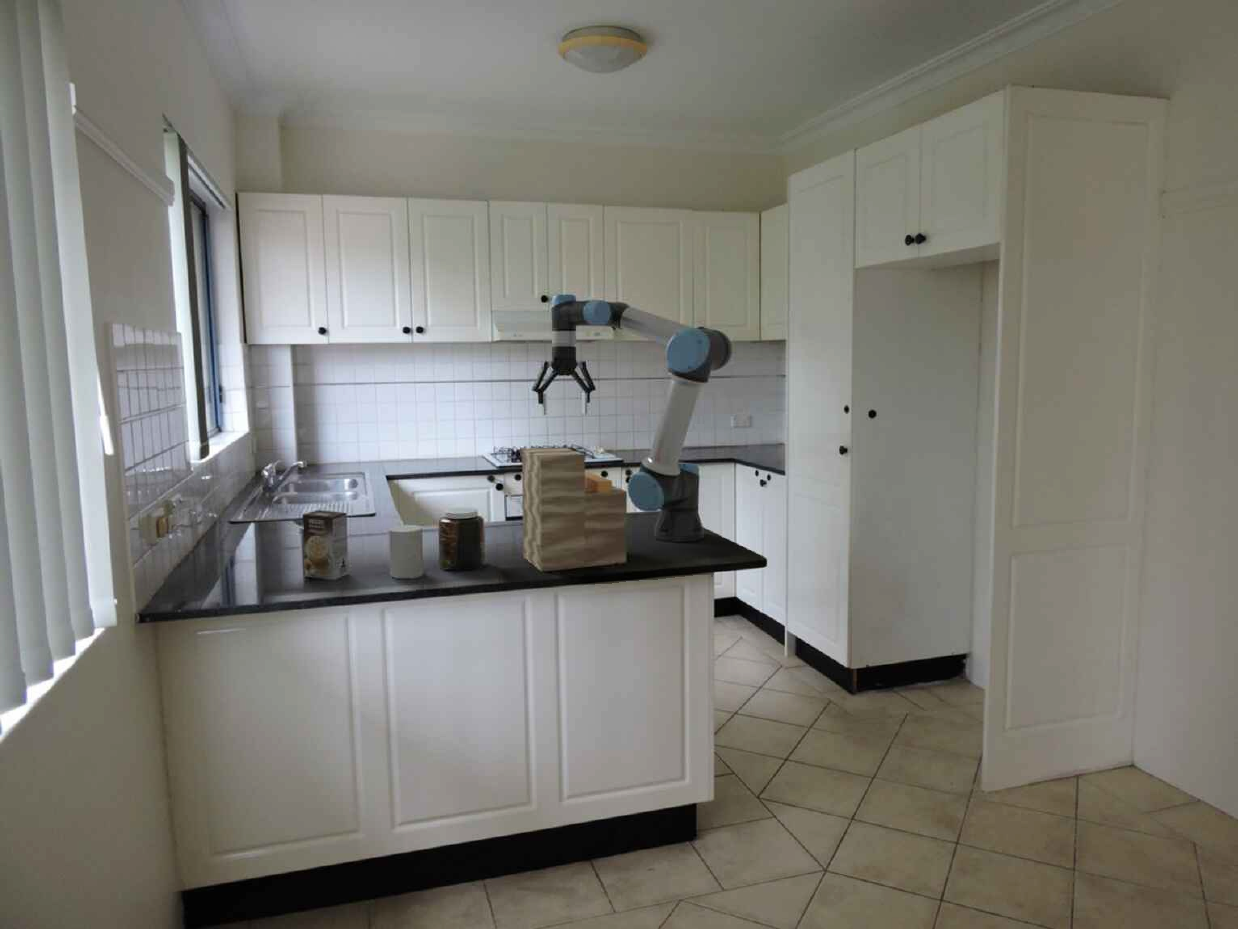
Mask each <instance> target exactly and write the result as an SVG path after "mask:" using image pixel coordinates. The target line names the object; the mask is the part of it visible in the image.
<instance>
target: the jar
mask: <svg viewBox="0 0 1238 929" xmlns="http://www.w3.org/2000/svg"><path fill="white" fill-rule="evenodd" d="M437 530H438V531H437V532H438V565H439V569H441V570H444V571H448V572H467V571H468V572H469V570H470V571H474V570H473V569H476V570H478V569H477V568H479V569H481V568H480V567H482V568H483V567H485V566H486V531H485V519H484V517H483V516H481V515H479V513H478V509H477V508H474V507H453V508H448V509H445V510H444V516H443V517H440V518H439V519H438V528H437ZM484 565H485V566H484Z"/></svg>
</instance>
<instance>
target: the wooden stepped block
mask: <svg viewBox="0 0 1238 929" xmlns="http://www.w3.org/2000/svg"><path fill="white" fill-rule="evenodd" d="M585 456H586V455H585V453H582V452H578V451H575V450H573V449H569V448H567V447H564V446H563V447H562V446H560V447H558V446H556V447H539V448H538V447H537V448H536V447H535V448H520V457H521V463H522V464H521V467H522V468H521V470H522V472H521V475H522V477H521V478H522V480H521V482H522V549H523V550H522V551H523V552H522V557H524V558H523V559H524V560H526V559H527V560H528V561H527V560H526V561H527V562H529V563H530V564H531V563H532V564H533V567H535V568H536V567H537V568H536V569H538V570H539V571H540V572H541V571H542V572H548V571H549V572H550V571H561V570H568V569H569V570H571V569H578V568H587V567H588V568H589V567H595V566H596V567H598V566H606V565H615V563H618V564H625V563H627V523H628V522H627V520H628V519H627V516H628V515H627V514H628V512H627V510H628V508H627V506H628V504H627V502H628V499H627V498H628V496H627V495H628V490H627V491H626V490H624V489H621V488H619V487H616V486H614V485H612V492H605V493H597V492H595V491H592V490H590V489H588V488H585V471H586V461H585V460H586V457H585ZM532 564H531V565H532Z"/></svg>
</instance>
